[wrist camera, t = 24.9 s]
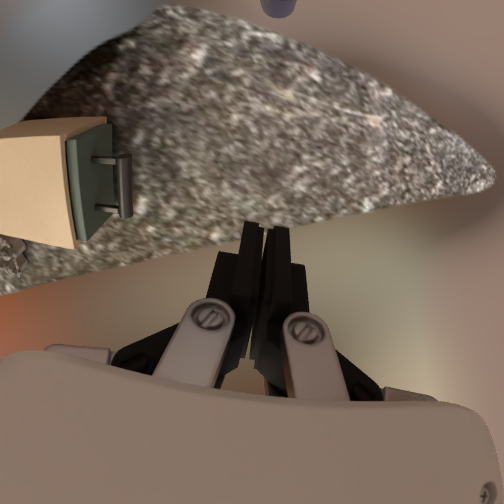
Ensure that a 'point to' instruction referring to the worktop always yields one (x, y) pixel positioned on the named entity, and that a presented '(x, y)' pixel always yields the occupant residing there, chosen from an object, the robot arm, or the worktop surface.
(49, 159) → the wooden drawer box
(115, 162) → the green-fronted drawer
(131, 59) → the worktop surface
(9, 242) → the egg carton
